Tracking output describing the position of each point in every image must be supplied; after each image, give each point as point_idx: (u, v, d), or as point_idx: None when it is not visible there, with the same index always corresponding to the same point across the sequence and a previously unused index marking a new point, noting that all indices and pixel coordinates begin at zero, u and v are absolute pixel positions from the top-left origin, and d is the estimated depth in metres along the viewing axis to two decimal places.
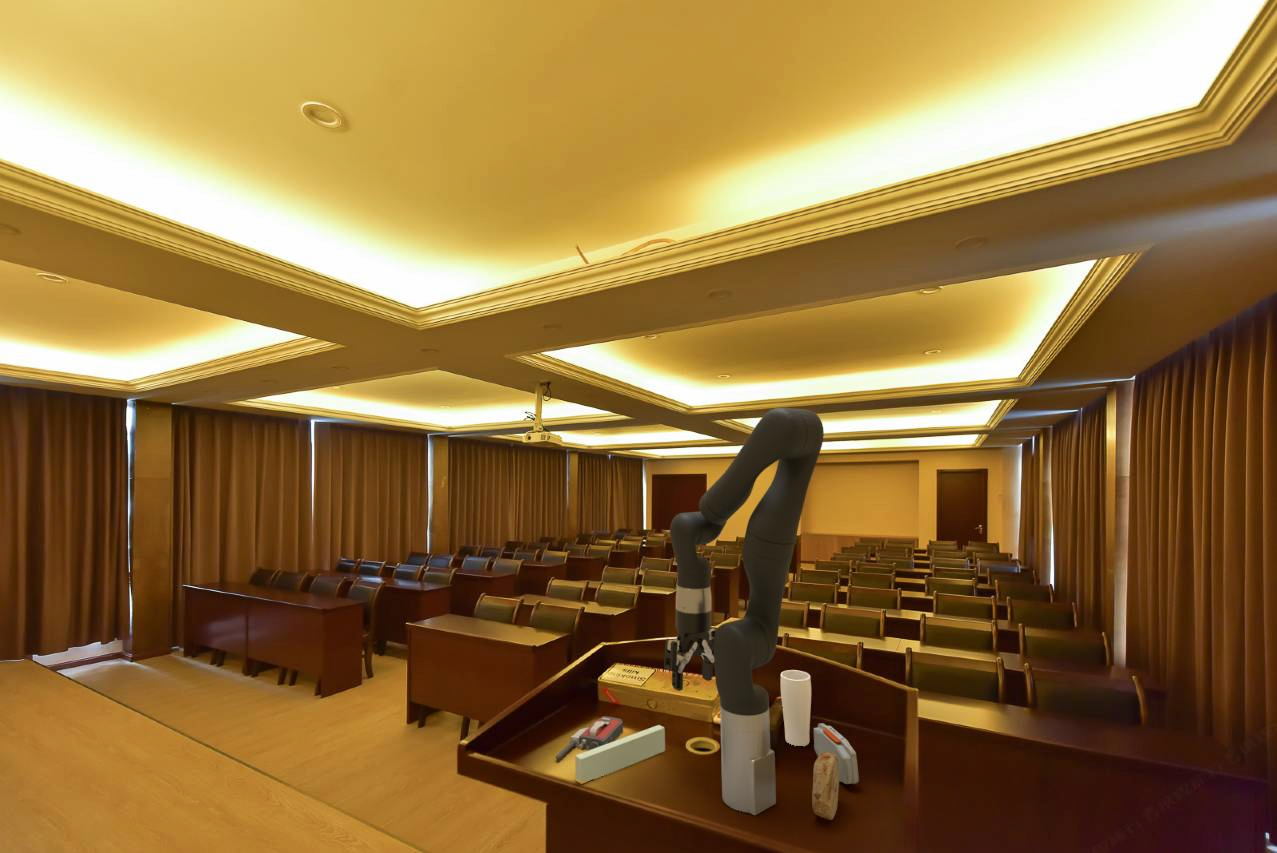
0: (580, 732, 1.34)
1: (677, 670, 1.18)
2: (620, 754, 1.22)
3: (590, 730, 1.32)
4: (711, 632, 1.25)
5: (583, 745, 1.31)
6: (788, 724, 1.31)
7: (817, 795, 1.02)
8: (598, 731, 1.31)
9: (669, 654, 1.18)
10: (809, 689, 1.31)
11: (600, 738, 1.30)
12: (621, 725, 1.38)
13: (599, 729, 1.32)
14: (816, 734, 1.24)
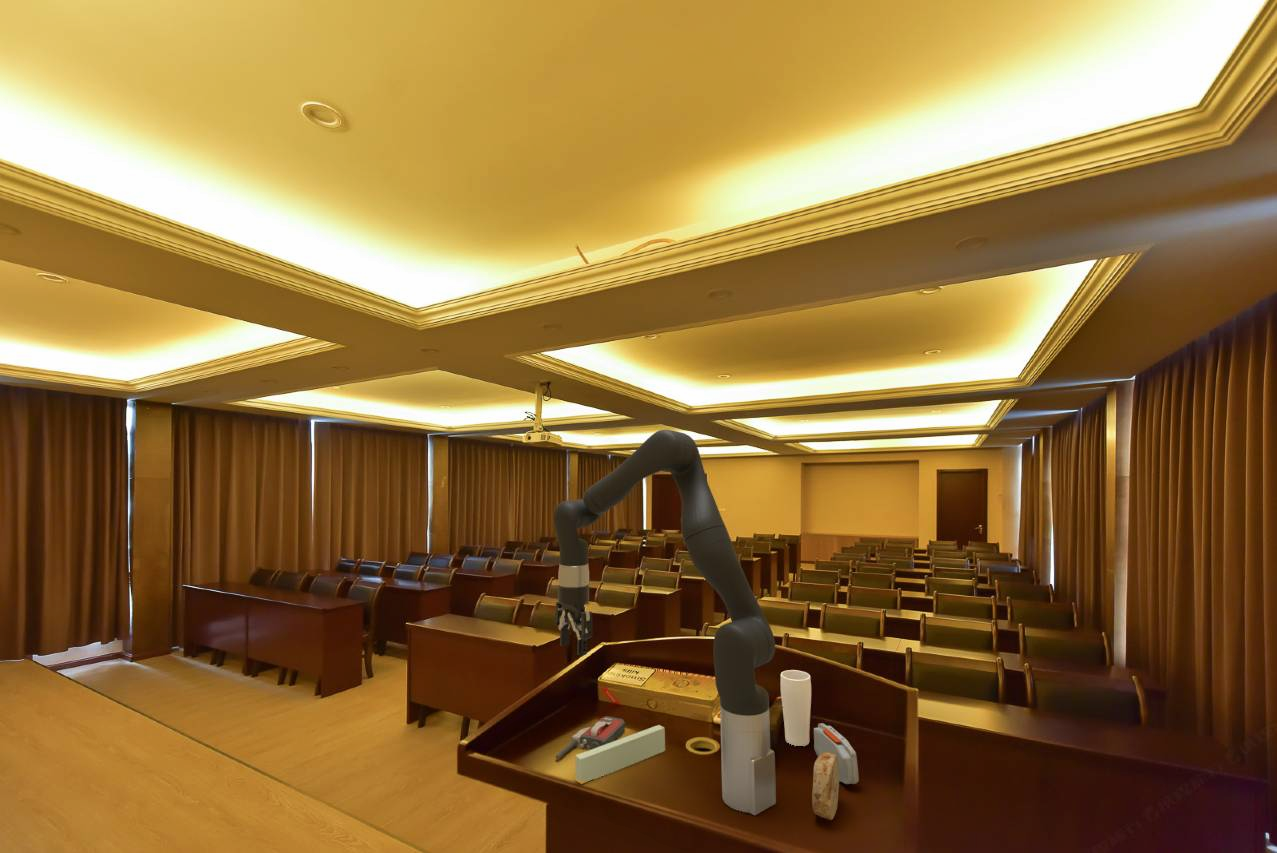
0: (581, 732, 1.35)
1: None
2: (620, 754, 1.22)
3: (591, 730, 1.32)
4: None
5: (584, 745, 1.31)
6: (788, 724, 1.31)
7: (817, 795, 1.02)
8: (599, 731, 1.31)
9: (589, 624, 1.35)
10: (809, 689, 1.31)
11: (601, 738, 1.30)
12: (623, 725, 1.38)
13: (600, 729, 1.32)
14: (816, 734, 1.24)
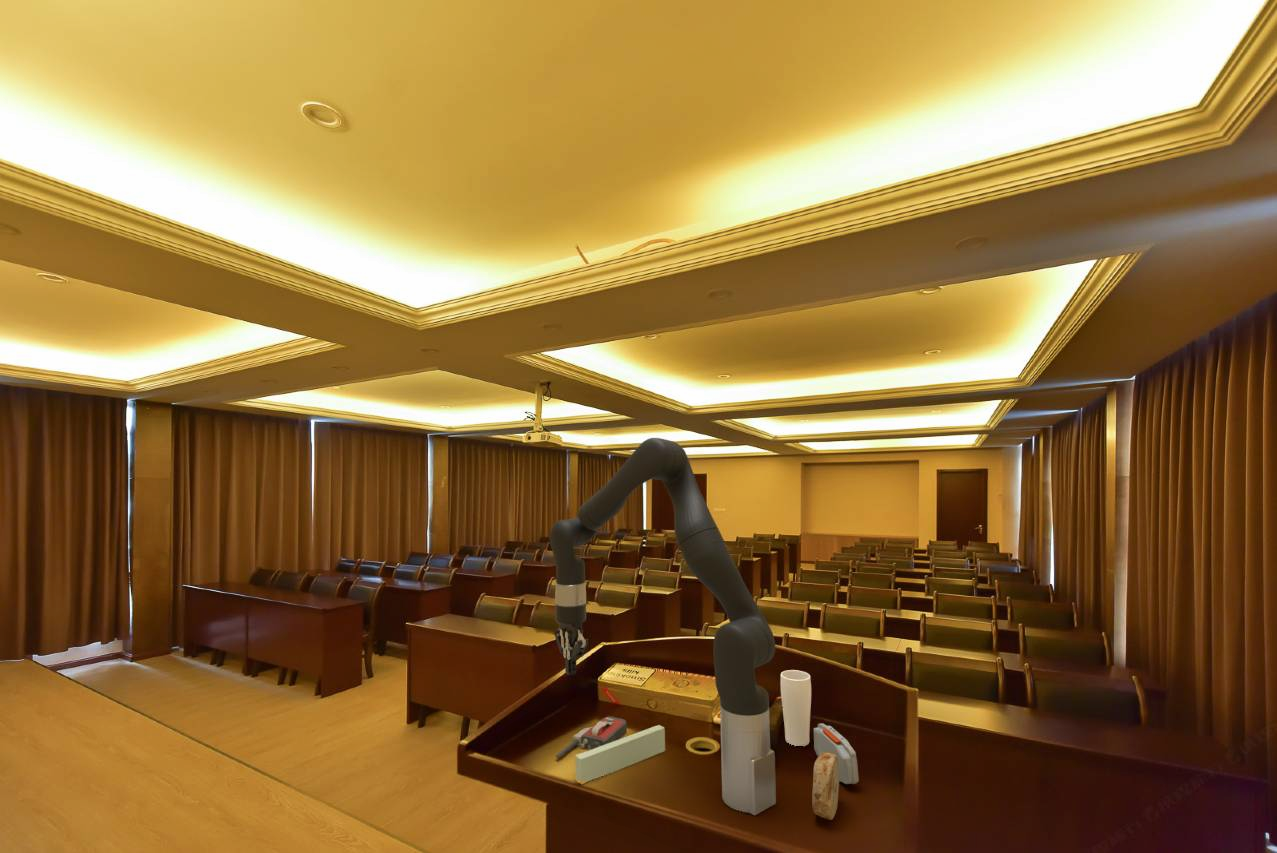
0: (583, 731, 1.35)
1: None
2: (620, 754, 1.22)
3: (592, 730, 1.32)
4: None
5: (585, 745, 1.31)
6: (788, 724, 1.31)
7: (817, 795, 1.02)
8: (600, 731, 1.31)
9: (582, 649, 1.37)
10: (809, 689, 1.31)
11: (601, 738, 1.30)
12: (624, 726, 1.38)
13: (601, 729, 1.32)
14: (816, 734, 1.24)
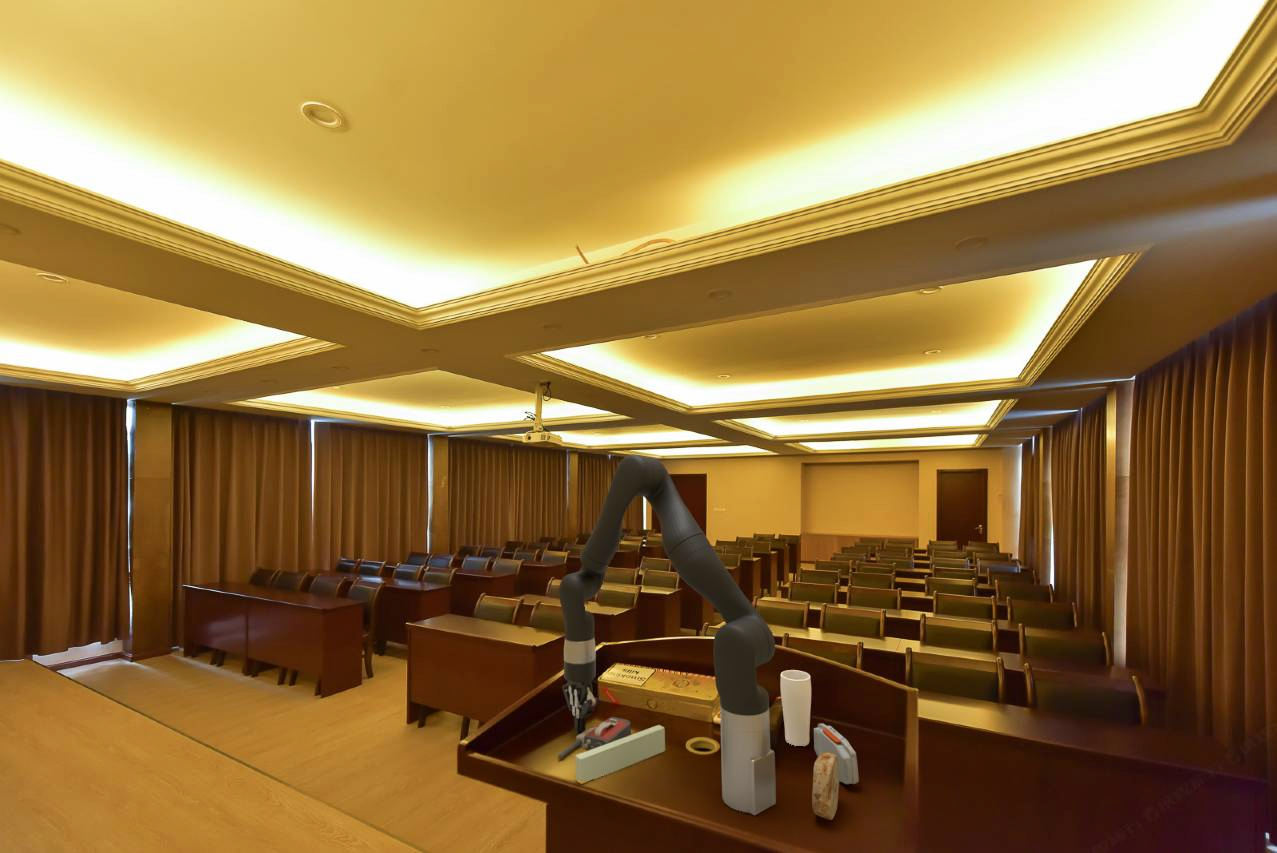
0: (586, 732, 1.34)
1: None
2: (620, 754, 1.22)
3: (595, 730, 1.31)
4: None
5: (588, 745, 1.31)
6: (788, 724, 1.31)
7: (817, 795, 1.02)
8: (603, 732, 1.31)
9: (591, 708, 1.33)
10: (809, 689, 1.31)
11: (604, 739, 1.29)
12: (628, 727, 1.37)
13: (604, 730, 1.31)
14: (816, 734, 1.24)
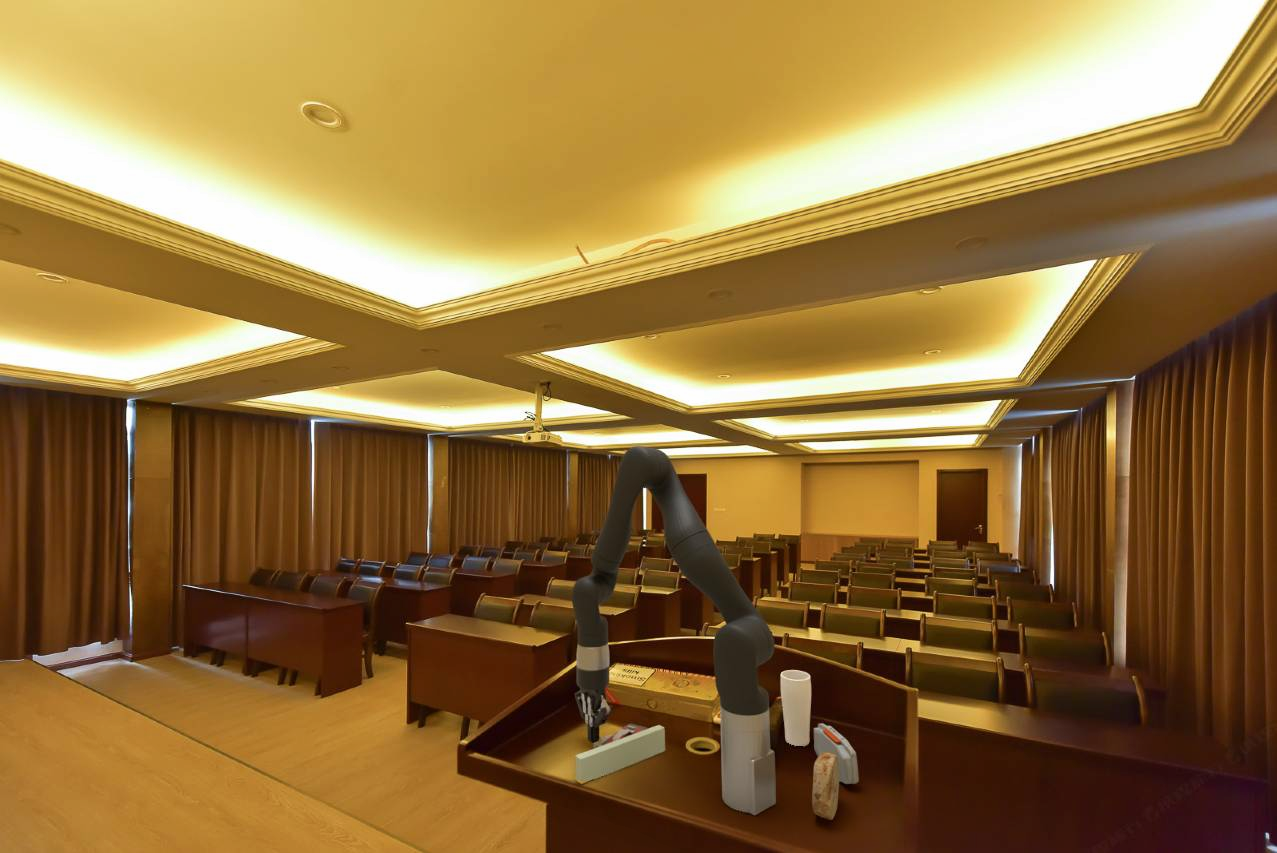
0: (604, 739, 1.31)
1: None
2: (620, 754, 1.22)
3: (613, 738, 1.28)
4: None
5: None
6: (788, 724, 1.31)
7: (818, 796, 1.02)
8: None
9: (605, 717, 1.29)
10: (809, 689, 1.31)
11: None
12: None
13: (622, 737, 1.28)
14: (816, 734, 1.24)
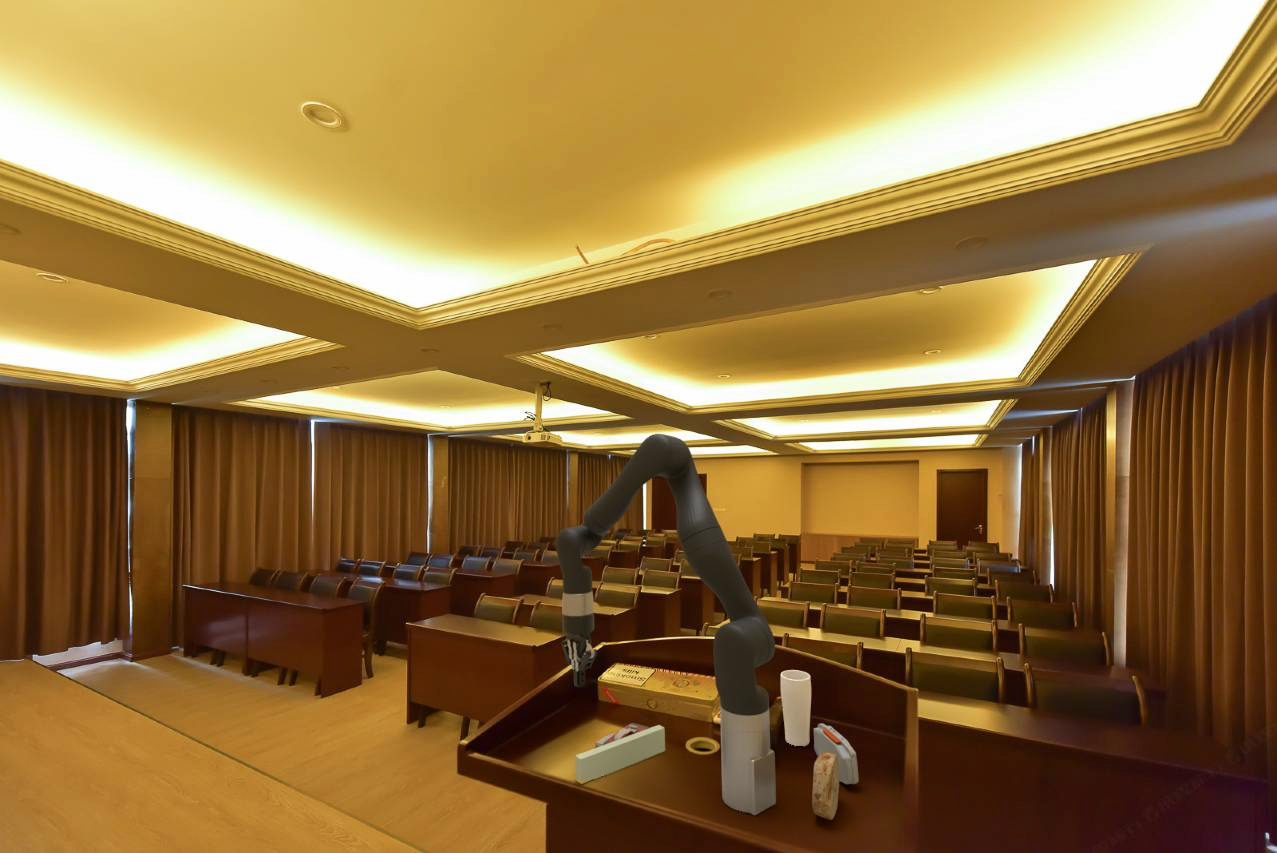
0: (606, 738, 1.31)
1: None
2: (620, 754, 1.22)
3: (614, 737, 1.28)
4: None
5: None
6: (788, 724, 1.31)
7: (818, 795, 1.02)
8: None
9: (590, 660, 1.34)
10: (809, 689, 1.31)
11: None
12: None
13: None
14: (816, 734, 1.24)
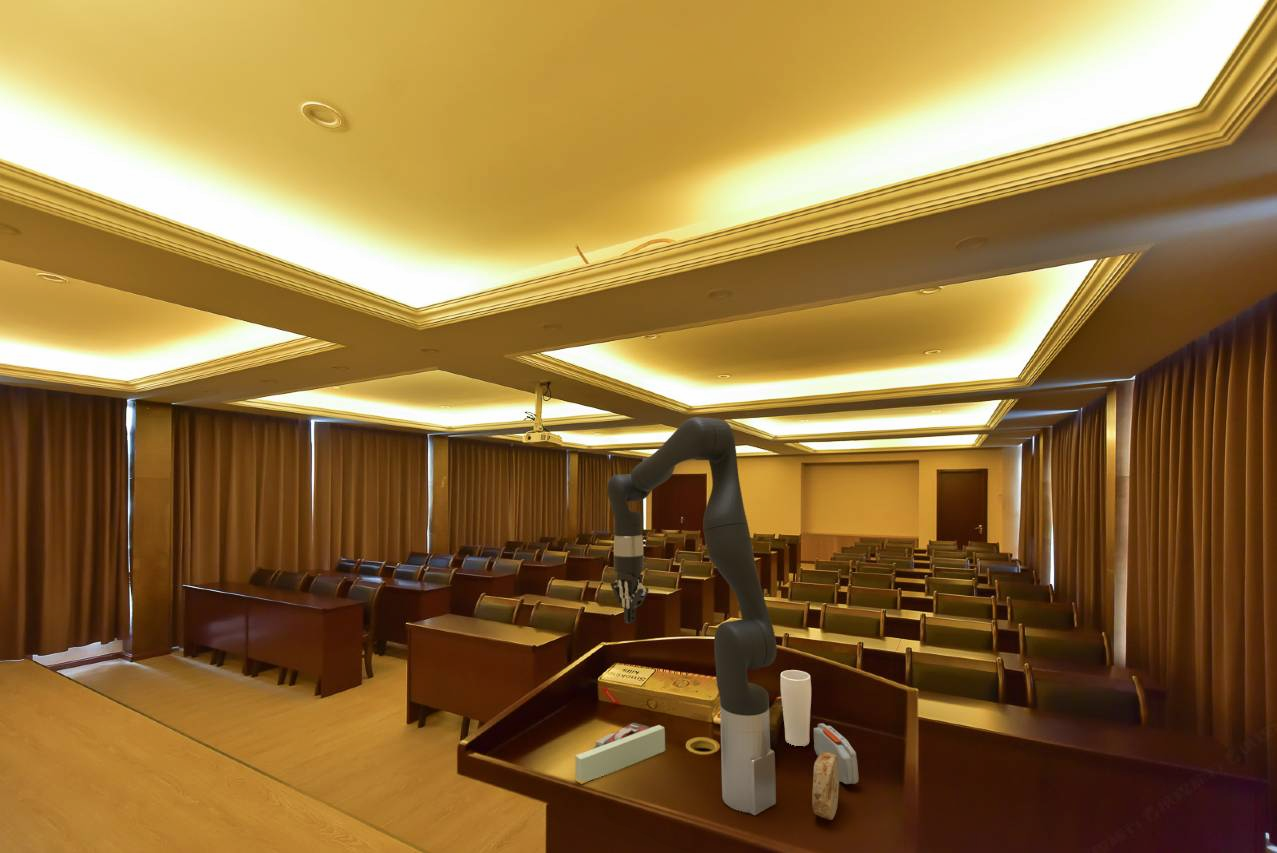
0: (606, 737, 1.31)
1: None
2: (620, 754, 1.22)
3: (615, 736, 1.28)
4: None
5: None
6: (788, 724, 1.31)
7: (817, 795, 1.02)
8: None
9: (642, 598, 1.43)
10: (809, 689, 1.31)
11: None
12: None
13: (624, 736, 1.28)
14: (816, 734, 1.24)
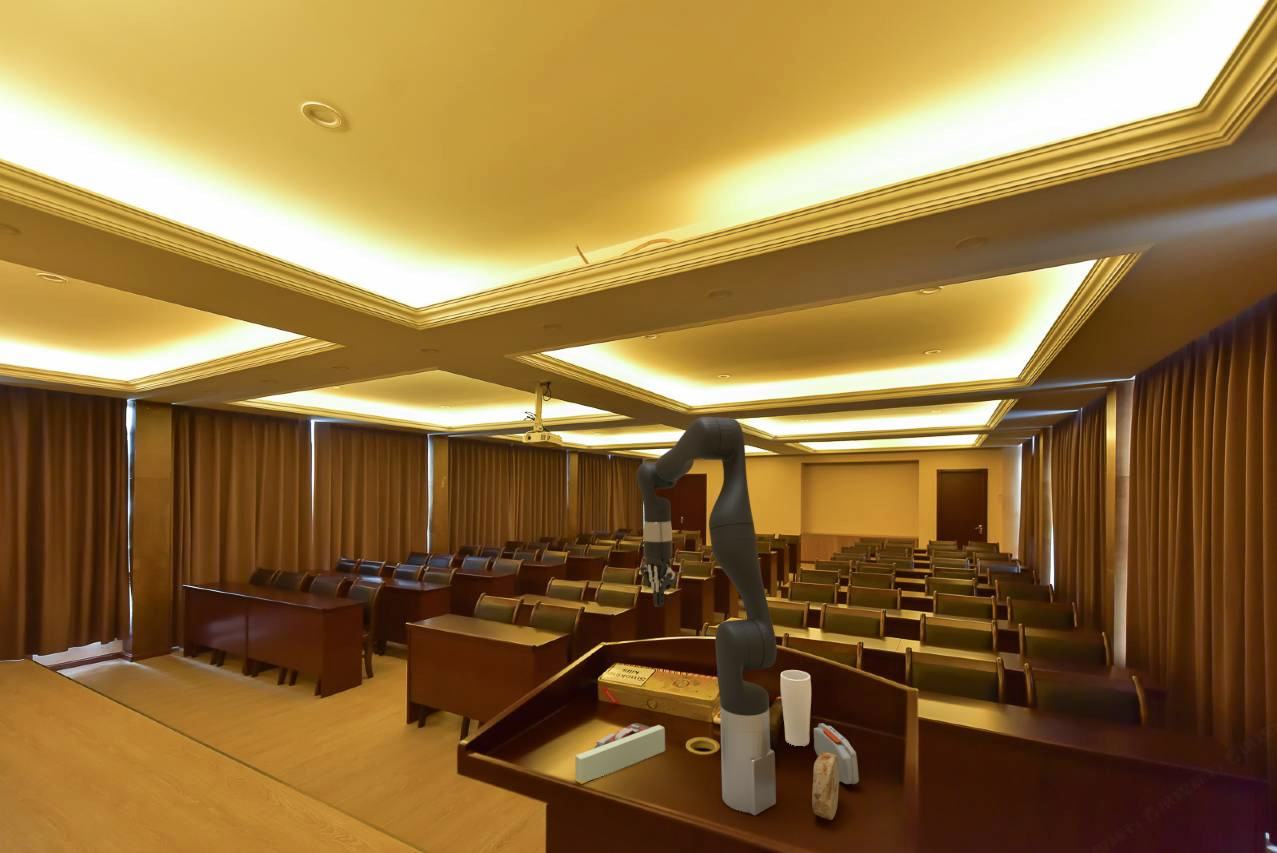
0: (607, 737, 1.32)
1: None
2: (620, 754, 1.22)
3: (615, 736, 1.28)
4: None
5: None
6: (788, 724, 1.31)
7: (817, 795, 1.02)
8: None
9: (671, 582, 1.48)
10: (809, 689, 1.31)
11: None
12: None
13: (624, 736, 1.28)
14: (816, 734, 1.24)
